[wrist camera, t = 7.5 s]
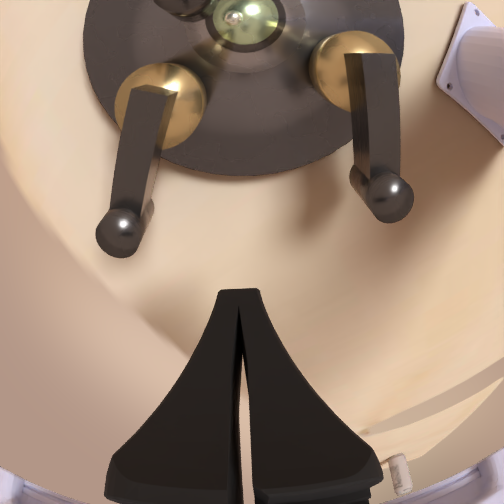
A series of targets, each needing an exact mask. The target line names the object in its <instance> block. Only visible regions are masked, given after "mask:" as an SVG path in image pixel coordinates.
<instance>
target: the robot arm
mask: <svg viewBox="0 0 504 504" xmlns="http://www.w3.org/2000/svg"><path fill="white" fill-rule="evenodd" d="M474 11H475V12H476V14H475V12H474ZM436 83H437V86H438V87H439V88H440V89H441V90H443V91H444V92H445V93H446V94H448V95H449V96H450V97H451V98H452V99H454V100H455V101H456V102H457V103H458V104H460V105H461V106H462V107H463V108H464V109H465V110H467V111H468V112H469V113H470V114H471V115H472V116H473V117H474V118H475V119H476V120H478V121H479V122H480V123H481V124H482V125H483V126H484V127H485V128H486V129H487V130H488V131H489V132H490V133H491V134H492V135H493V136H494V137H495V138H496V139H497V140H498V141H499V142H500V143H501V144H502V145H503V146H504V28H503V27H496V26H495V25H494V24H493V23H492V22H491V21H490V20H489V19H488V18H487V17H486V16H485V15H484V14H483V13H482V12H481V11H480V10H479V9H478V8H477V7H476V6H475V5H474V4H473V3H472V2H465V4H464V7H463V10H462V13H461V16H460V19H459V22H458V25H457V27H456V30H455V33H454V36H453V38H452V41H451V44H450V46H449V49H448V52H447V54H446V57H445V59H444V62H443V64H442V67H441V69H440V72H439V74H438V76H437V79H436ZM447 84H449V89H447ZM242 355H243V359H244V366H245V373H246V380H247V387H248V394H249V410H250V432H251V433H250V435H251V457H252V458H251V459H252V482H253V490H254V495H255V504H369V500H368V499H369V498H371V493H370V487H372V486H374V485H376V484H378V483H379V482H381V481H382V480H383V471H382V468H381V465H380V463H379V460H378V458H377V456H376V454H375V452H374V450H373V449H372V447H371V446H369V445H368V444H367V443H366V442H365V441H363V440H362V439H361V438H360V437H359V436H358V435H357V434H355V433H354V432H353V431H352V430H351V429H350V428H349V427H348V426H347V425H346V424H345V423H344V422H343V421H342V420H341V419H340V418H339V417H338V416H337V415H336V414H335V413H334V412H333V411H332V410H331V409H330V408H329V407H328V405H327V404H326V403H325V402H324V401H323V400H322V399H321V398H320V396H319V395H318V394H317V393H316V392H315V391H314V389H313V388H312V387H311V385H310V384H309V383H308V382H307V380H306V379H305V378H304V376H303V375H302V373H301V372H300V371H299V369H298V368H297V366H296V365H295V363H294V362H293V360H292V359H291V357H290V356H289V354H288V352H287V351H286V349H285V347H284V346H283V344H282V342H281V340H280V339H279V337H278V335H277V333H276V331H275V329H274V327H273V325H272V323H271V321H270V319H269V316H268V314H267V312H266V309H265V307H264V304H263V301H262V298H261V294H260V290H258V289H257V288H247V289H224V290H220V291H219V292H218V295H217V299H216V302H215V305H214V308H213V311H212V314H211V316H210V319H209V321H208V323H207V326H206V328H205V330H204V332H203V335H202V337H201V339H200V341H199V343H198V345H197V347H196V349H195V350H194V352H193V354H192V356H191V358H190V360H189V362H188V363H187V365H186V367H185V369H184V370H183V372H182V373H181V375H180V377H179V378H178V380H177V381H176V383H175V384H174V386H173V387H172V389H171V390H170V391H169V393H168V394H167V396H166V397H165V398H164V400H163V401H162V402H161V404H160V405H159V406H158V407H157V409H156V410H155V411H154V412H153V413H152V415H151V416H150V417H149V418H148V419H147V420H146V422H145V423H144V424H143V425H142V426H141V427H140V429H139V430H138V431H137V432H136V433H135V434H134V435H133V436H132V437H131V438H130V439H129V440H128V441H127V442H126V443H125V444H124V445H123V446H122V447H121V448H120V449H119V450H118V451H116V452H115V453H114V454H113V456H112V458H111V461H110V464H109V468H108V471H107V475H106V483H105V491H104V496H105V497H106V498H107V499H109V500H111V501H114V502H117V503H120V504H244V501H243V486H242V470H241V451H240V428H239V402H240V387H241V371H242ZM0 504H88V503H84V502H81V501H78V500H75V499H72V498H69V497H66V496H63V495H60V494H58V493H55V492H53V491H50V490H48V489H45V488H43V487H41V486H39V485H36V484H34V483H32V482H29V481H27V480H25V479H23V478H22V477H20V476H18V475H16V474H14V473H12V472H10V471H8V470H6V469H4V468H2V467H1V466H0ZM380 504H504V447H502V448H501V449H499V450H497V451H496V452H494V453H493V454H491V455H489V456H488V457H486V458H484V459H482V460H481V461H479V462H478V463H477V464H474V465H473V466H471V467H469V468H467V469H465V470H463V471H461V472H459V473H457V474H456V475H453V476H451V477H449V478H447V479H445V480H443V481H440V482H438V483H436V484H433V485H431V486H429V487H426V488H424V489H421V490H419V491H416V492H413V493H411V494H408V495H405V496H402V497H400V498H396V499H393V500H390V501H387V502H384V503H380Z"/></svg>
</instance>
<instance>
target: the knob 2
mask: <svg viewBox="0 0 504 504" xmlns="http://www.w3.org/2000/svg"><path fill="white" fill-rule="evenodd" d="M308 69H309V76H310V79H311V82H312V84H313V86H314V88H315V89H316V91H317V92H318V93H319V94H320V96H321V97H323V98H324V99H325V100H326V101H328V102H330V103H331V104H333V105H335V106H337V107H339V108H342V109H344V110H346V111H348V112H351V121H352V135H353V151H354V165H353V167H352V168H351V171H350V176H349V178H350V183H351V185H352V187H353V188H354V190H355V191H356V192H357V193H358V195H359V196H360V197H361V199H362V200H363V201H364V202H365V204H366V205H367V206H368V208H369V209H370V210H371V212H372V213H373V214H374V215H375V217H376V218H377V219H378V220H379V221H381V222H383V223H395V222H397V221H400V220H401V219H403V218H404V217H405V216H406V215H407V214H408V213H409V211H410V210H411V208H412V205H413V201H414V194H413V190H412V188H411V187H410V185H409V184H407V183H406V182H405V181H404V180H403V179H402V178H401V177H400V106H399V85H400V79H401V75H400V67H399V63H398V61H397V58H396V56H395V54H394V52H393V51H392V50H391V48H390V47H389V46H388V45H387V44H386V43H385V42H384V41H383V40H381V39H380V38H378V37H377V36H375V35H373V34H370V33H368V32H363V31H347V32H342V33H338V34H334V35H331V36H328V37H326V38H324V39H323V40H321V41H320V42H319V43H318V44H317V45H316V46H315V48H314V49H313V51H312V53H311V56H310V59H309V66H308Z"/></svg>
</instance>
